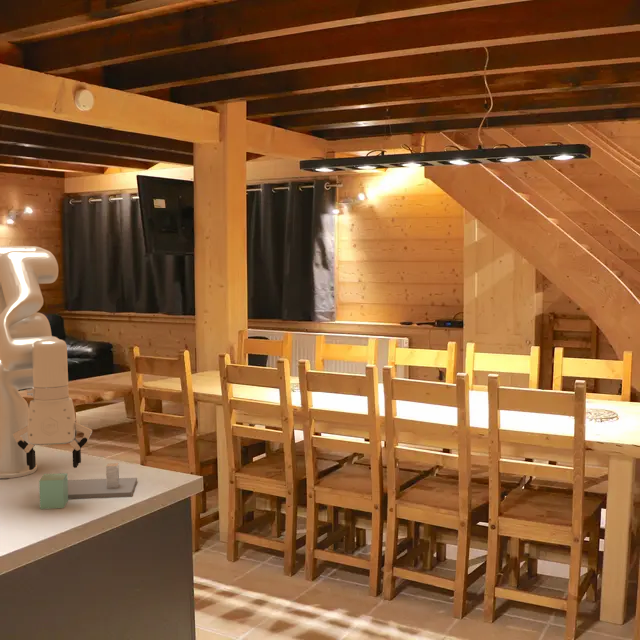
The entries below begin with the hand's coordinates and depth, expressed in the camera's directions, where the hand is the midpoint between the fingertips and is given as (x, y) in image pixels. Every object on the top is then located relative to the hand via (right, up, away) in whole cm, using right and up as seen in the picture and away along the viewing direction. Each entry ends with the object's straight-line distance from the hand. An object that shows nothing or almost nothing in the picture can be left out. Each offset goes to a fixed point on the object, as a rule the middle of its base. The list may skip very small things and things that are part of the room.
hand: (54, 467), depth 175 cm
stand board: (+6, -8, +12) cm, 16 cm away
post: (+10, -8, +12) cm, 18 cm away
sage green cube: (-1, -9, +1) cm, 9 cm away
